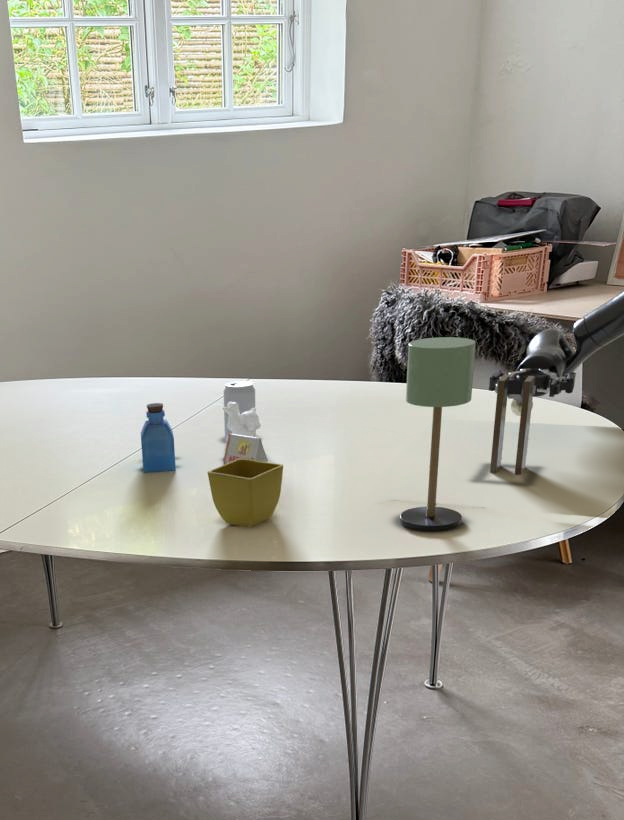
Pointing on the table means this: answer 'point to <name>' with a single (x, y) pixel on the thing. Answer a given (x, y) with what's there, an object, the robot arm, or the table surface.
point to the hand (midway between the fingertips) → (525, 390)
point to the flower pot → (246, 491)
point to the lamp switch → (516, 395)
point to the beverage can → (239, 399)
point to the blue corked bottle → (157, 441)
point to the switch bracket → (500, 423)
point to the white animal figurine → (241, 420)
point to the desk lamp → (437, 412)
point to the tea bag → (244, 449)
